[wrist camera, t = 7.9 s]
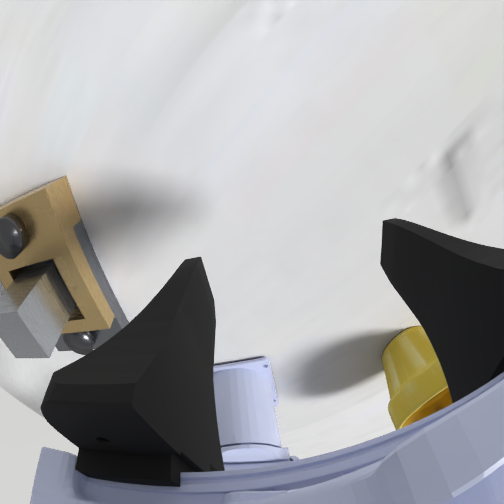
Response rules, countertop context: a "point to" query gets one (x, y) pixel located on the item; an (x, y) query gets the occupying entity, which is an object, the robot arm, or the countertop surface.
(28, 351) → the grey metal block
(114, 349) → the robot arm
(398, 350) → the plant pot
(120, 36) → the countertop surface
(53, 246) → the brass plate with knob
